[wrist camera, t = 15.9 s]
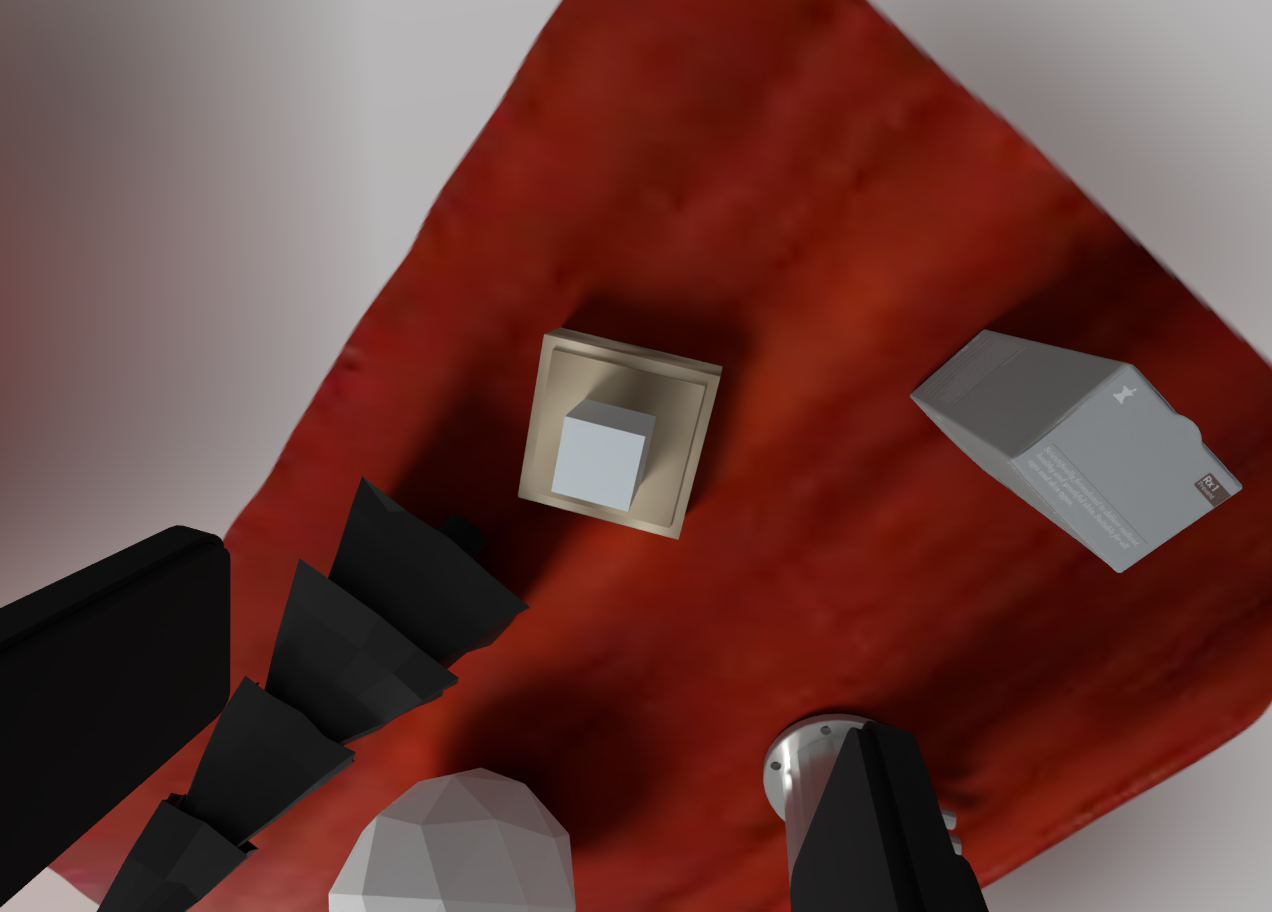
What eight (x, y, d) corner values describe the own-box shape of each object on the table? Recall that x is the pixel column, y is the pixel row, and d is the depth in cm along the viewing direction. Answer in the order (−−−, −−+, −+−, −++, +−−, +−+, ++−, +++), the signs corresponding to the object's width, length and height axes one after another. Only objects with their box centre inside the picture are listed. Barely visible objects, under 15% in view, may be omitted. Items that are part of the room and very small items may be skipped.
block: (656, 416, 43) (645, 436, 38) (640, 484, 45) (628, 511, 40) (584, 398, 43) (564, 416, 39) (571, 466, 45) (551, 491, 40)
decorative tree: (387, 507, 57) (-40, 935, 37) (404, 432, 45) (-213, 1007, 25) (518, 607, 58) (170, 1078, 38) (569, 561, 46) (100, 1214, 26)
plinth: (722, 366, 46) (720, 377, 42) (683, 517, 49) (677, 541, 45) (560, 327, 47) (542, 334, 43) (534, 478, 50) (516, 498, 46)
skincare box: (905, 393, 44) (987, 465, 29) (994, 317, 42) (1132, 352, 27) (988, 478, 45) (1109, 589, 30) (1080, 407, 43) (1260, 490, 28)
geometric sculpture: (552, 792, 69) (524, 1044, 57) (357, 769, 62) (281, 1046, 51) (623, 765, 54) (605, 1094, 43) (379, 731, 48) (280, 1106, 37)
